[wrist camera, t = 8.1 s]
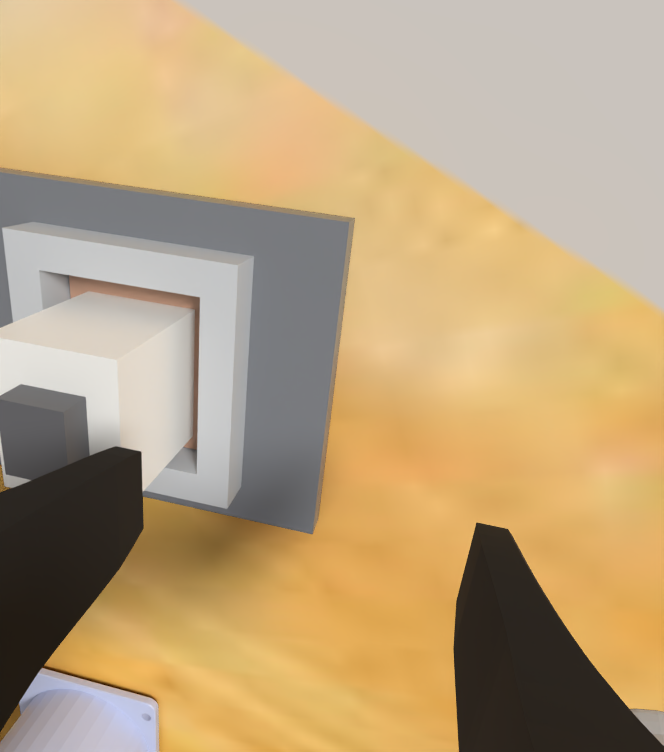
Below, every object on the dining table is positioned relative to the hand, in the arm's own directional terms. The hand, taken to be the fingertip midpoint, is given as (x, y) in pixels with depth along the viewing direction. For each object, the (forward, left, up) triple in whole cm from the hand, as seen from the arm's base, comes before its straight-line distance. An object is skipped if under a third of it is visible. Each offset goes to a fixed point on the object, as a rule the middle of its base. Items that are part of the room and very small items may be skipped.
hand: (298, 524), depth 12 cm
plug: (-1, +8, -8) cm, 12 cm away
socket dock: (-1, +8, -9) cm, 12 cm away
